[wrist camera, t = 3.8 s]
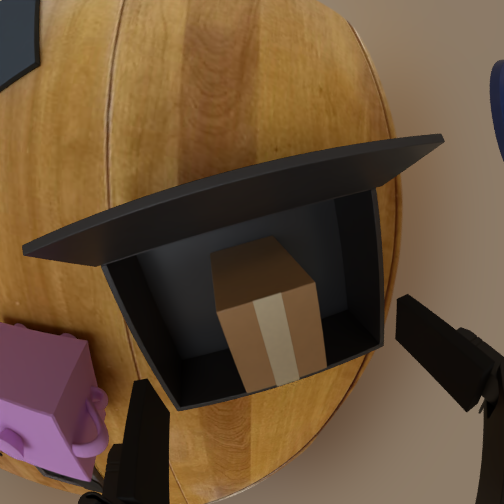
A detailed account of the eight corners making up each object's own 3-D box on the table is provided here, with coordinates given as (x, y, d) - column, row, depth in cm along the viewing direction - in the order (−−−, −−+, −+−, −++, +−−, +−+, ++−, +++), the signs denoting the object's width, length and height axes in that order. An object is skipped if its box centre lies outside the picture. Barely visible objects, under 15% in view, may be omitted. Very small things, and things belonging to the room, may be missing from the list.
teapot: (117, 334, 23) (80, 446, 11) (129, 407, 26) (115, 504, 14) (-32, 304, 19) (-92, 364, 7) (-7, 373, 22) (-46, 438, 10)
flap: (22, 255, 8) (21, 244, 8) (95, 267, 14) (94, 259, 14) (445, 141, 9) (441, 133, 9) (382, 186, 15) (379, 179, 15)
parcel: (272, 234, 22) (316, 281, 14) (287, 301, 24) (328, 369, 16) (209, 252, 22) (215, 312, 13) (230, 318, 24) (247, 395, 15)
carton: (179, 361, 25) (177, 411, 19) (124, 232, 21) (98, 260, 15) (349, 309, 26) (383, 346, 20) (331, 174, 22) (375, 182, 16)
